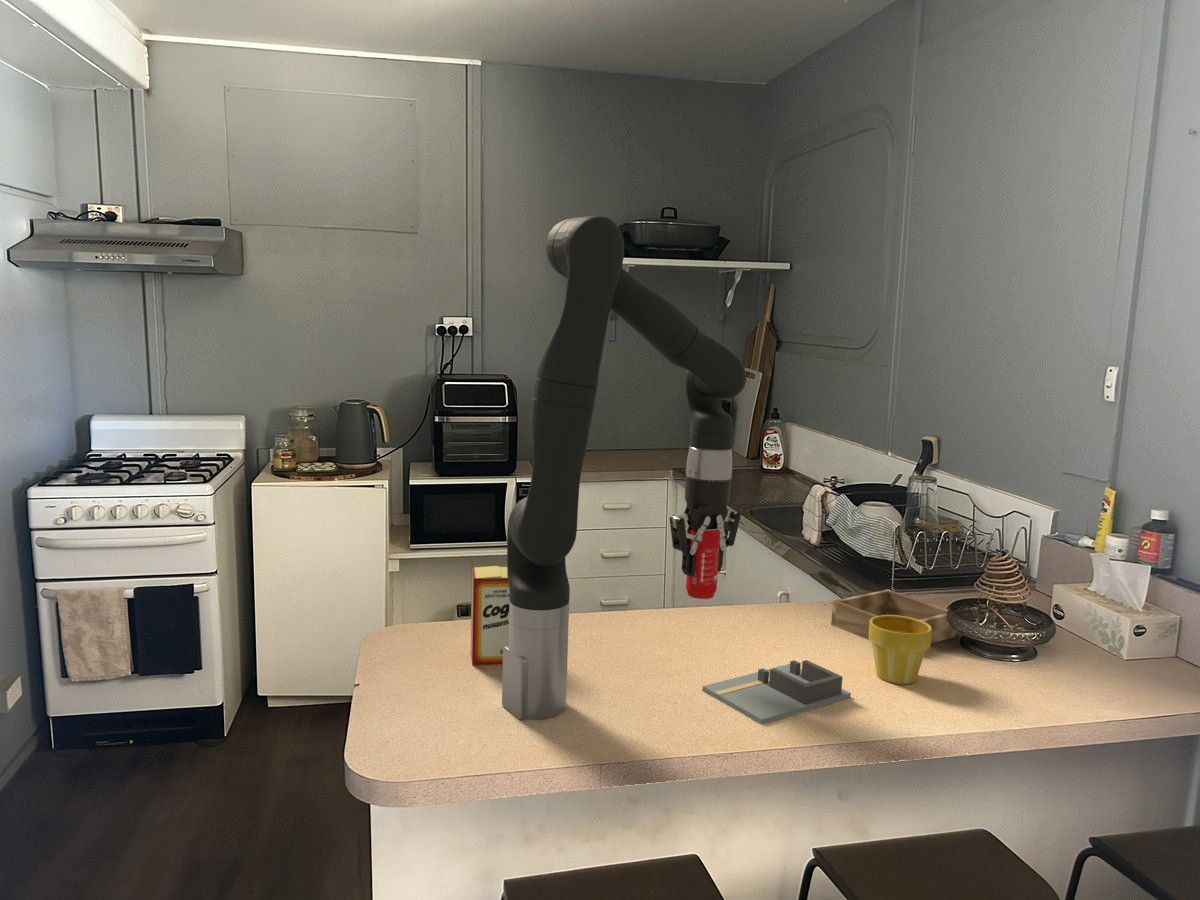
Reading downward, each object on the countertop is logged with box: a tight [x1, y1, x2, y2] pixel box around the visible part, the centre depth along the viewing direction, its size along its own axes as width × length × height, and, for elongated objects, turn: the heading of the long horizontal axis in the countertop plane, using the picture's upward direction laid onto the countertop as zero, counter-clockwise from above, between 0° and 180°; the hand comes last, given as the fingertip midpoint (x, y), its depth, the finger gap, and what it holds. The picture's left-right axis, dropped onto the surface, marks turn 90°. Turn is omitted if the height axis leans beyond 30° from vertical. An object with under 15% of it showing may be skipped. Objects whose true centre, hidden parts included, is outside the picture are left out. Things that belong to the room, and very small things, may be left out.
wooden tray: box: [830, 589, 957, 644], centre depth 181 cm, size 17×17×5 cm
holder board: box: [702, 659, 852, 725], centre depth 148 cm, size 20×14×4 cm
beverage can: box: [685, 528, 720, 600], centre depth 152 cm, size 5×5×12 cm
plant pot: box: [869, 614, 932, 685], centre depth 157 cm, size 10×10×10 cm
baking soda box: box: [470, 565, 509, 666], centre depth 159 cm, size 10×6×16 cm
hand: (702, 572), depth 152 cm, fingers closed on beverage can, 5 cm apart
